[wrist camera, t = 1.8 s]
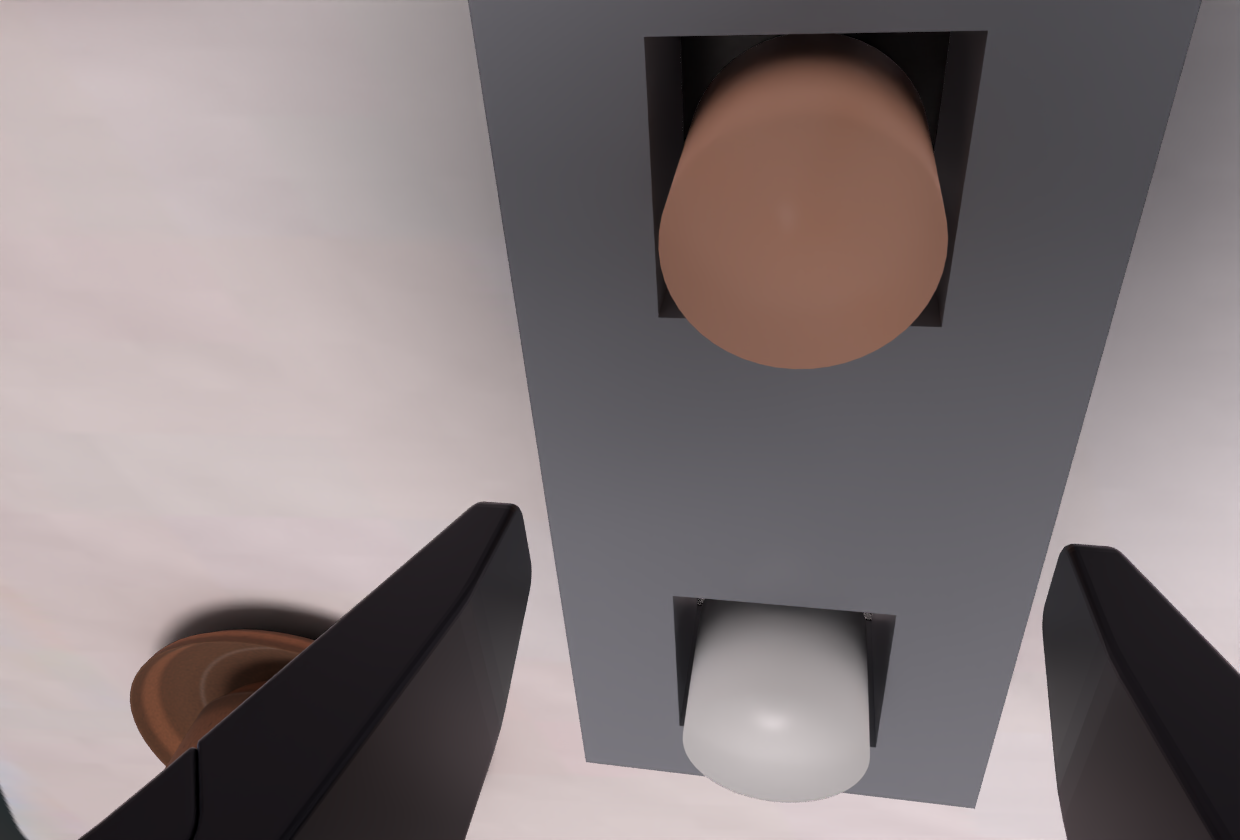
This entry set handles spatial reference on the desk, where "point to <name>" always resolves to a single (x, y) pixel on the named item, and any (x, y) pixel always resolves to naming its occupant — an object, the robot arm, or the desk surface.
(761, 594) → the plug block
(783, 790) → the grey piece
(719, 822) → the desk surface
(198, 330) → the desk surface
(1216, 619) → the desk surface
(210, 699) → the cup and saucer
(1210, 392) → the desk surface
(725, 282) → the terracotta plug
